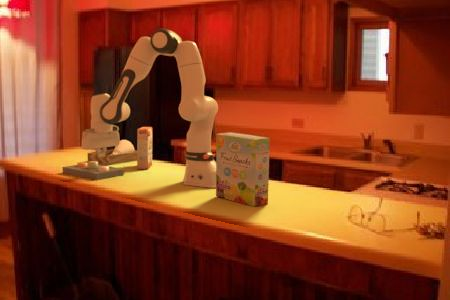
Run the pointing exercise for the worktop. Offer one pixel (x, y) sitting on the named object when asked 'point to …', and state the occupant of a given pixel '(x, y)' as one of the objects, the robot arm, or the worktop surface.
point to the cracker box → (144, 147)
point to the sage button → (92, 164)
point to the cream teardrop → (123, 148)
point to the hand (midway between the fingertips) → (101, 157)
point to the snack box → (242, 168)
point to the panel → (93, 172)
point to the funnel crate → (112, 157)
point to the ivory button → (103, 168)
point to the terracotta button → (82, 164)
